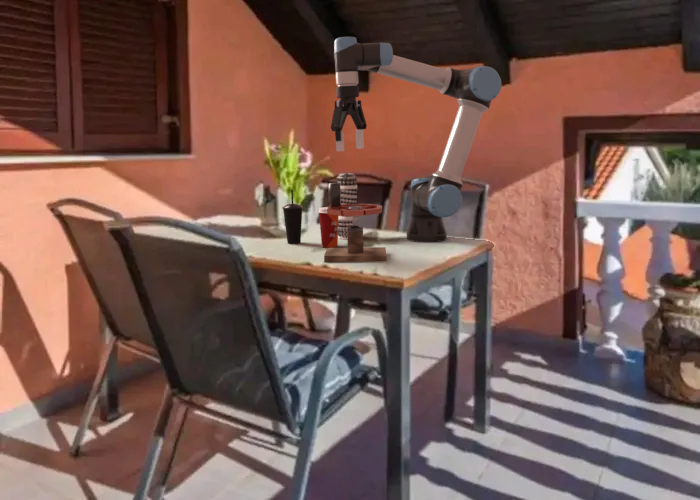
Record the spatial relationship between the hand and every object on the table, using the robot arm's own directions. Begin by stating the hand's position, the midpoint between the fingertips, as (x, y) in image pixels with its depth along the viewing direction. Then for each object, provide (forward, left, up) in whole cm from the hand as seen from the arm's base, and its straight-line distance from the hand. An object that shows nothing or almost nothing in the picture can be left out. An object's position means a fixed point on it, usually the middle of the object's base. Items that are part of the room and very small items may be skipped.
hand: (350, 149), depth 228 cm
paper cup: (+9, -9, -35) cm, 37 cm away
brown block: (-1, +12, -35) cm, 37 cm away
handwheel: (-1, +12, -25) cm, 28 cm away
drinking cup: (+23, -17, -35) cm, 45 cm away
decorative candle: (+3, -27, -35) cm, 44 cm away
